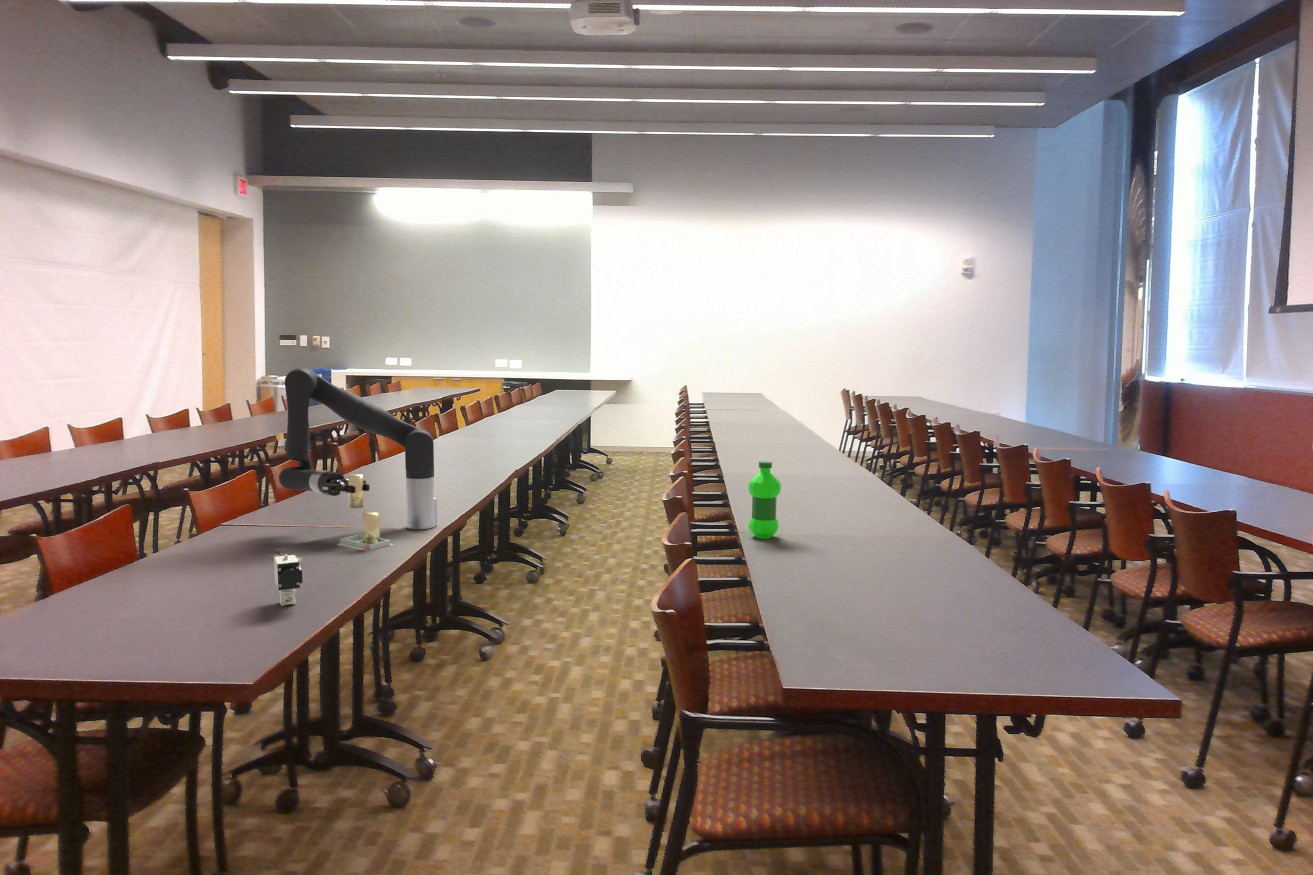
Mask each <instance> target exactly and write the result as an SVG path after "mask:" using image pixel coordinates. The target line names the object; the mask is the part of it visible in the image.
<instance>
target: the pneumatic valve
mask: <svg viewBox="0 0 1313 875" xmlns="http://www.w3.org/2000/svg"><path fill="white" fill-rule="evenodd" d="M300 563H302V558H301V557H297V556H296V555H295V553H293V554H282V555H275V556H273V571H274V574H273V576H274V583H275V585H276V588H277V590H278V592H279V601H278V602H279V604H280V606H281V607H284V606H288V605H293V606H294V604H295V605H296V604H297V601H296V594H297V592H296V589H300V588H301V586H300V585H301V584H303V569H302V568H301V566H300Z"/></svg>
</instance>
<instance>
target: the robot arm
mask: <svg viewBox="0 0 1313 875" xmlns="http://www.w3.org/2000/svg"><path fill="white" fill-rule="evenodd" d="M284 378H285V379H284V389H285V397H286V403H287V429H286V445H285V446H286V447H285V455H286V456H285V457H286V458H287V459H288V460H289V461H295V462H297V466H293V467H292V466H291V467H289V466H288V467H286V468H283V469H282V470H281V471H280V472H279V475H278V482H279V484H280V486H282V487H283V488H284V489H287V490H292V491H293V490H296V491H302V490H303V491H309V492H314V493H317V494H320V495H326V496H331V497H338V496H340V495H341V494H345V493H347V494H348V493H355V486H351V485H348V477H347V478H346V477H345V476H344V474H342V473H341V472H336V471H330V470H319V469H313V467H312V462H311V457H310V445H311V444H310V441H311V438H310V437H311V435H310V432H311V431H310V423H309V405H310V402H311V400H313V401H316V402H318V403H320V404H322V405H324V406H325V407H327V408H328V409H330V410H331V411H332V412H333V413H335V414H336V415H337V416H339V417H340V418H341V419H343V420H344V421H346V422H348V423H349V424H351V425H353V426H355V427H357V428H359V429H361V430H364V431H366V432H368V433H372V434H374V435H377V436H381V437H384V438H387V439H390V440H391V441H392V442H394V443H397V444H398V445H400V446H402V447H403V449H404V460H405V462H404V463H405V467H404V468H405V487H406V488H405V489H406V490H405V494H406V495H405V496H406V528H407V529H411V530H426V529H427V530H429V529H432V528H435V526H438V503H437V501H438V499H437V497H435V462H434V461H435V457H434V456H435V452H434V451H435V449H434V448H435V444H434V438H433V435H432V434H431V433H430V432H429V431H427V430H426V429H423V428H421V427H418V426H416V425H415V426H414V425H412V424H410V423H407V422H405V421H403V420H401V419H400V418H398V417H396V416H395V415H394V414H392V413H390V412H388V411H387V410H385V409H383V407H380V406H378V405H377V404H375V403H373V402H372V401H369V400H367V399H365V398H364V397H361V396H360V395H357V394H355V393H353V392H350V391H348V390H346V389H343V388H341V387H339V386H337V385H334V384H333V383H331V382H329V381H328V380H326V379H324V378H323V377H321V376H320V375H319V374H317V373H316V372H314V371H313V370H311V369H310V368H306V367H299V368H295V369H292V370H290V371H289V372H287V374H286V376H285V377H284ZM363 488H364V492H369V491H370V483H367V481H366V480H364V479H363Z"/></svg>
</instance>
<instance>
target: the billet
mask: <svg viewBox="0 0 1313 875" xmlns="http://www.w3.org/2000/svg"><path fill="white" fill-rule="evenodd" d="M347 478H348V485H351V486H355V493H348V492H347V495H348V496H347V497H348V498H347V503H348V508H349V509H362V508H364V507H365V500H364V499H365V496H364V495H365V493H364V492H365V491H364V488H363V480H364V474H363V473H351V474H348V475H347Z"/></svg>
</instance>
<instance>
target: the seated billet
mask: <svg viewBox="0 0 1313 875" xmlns="http://www.w3.org/2000/svg"><path fill="white" fill-rule="evenodd" d="M362 518H363V535H364V543H366V544H374V543H378V542H380V538H381V537H380V534H381V533H380V531H381V530H380V512H379V511H366V512H363V517H362Z"/></svg>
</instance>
